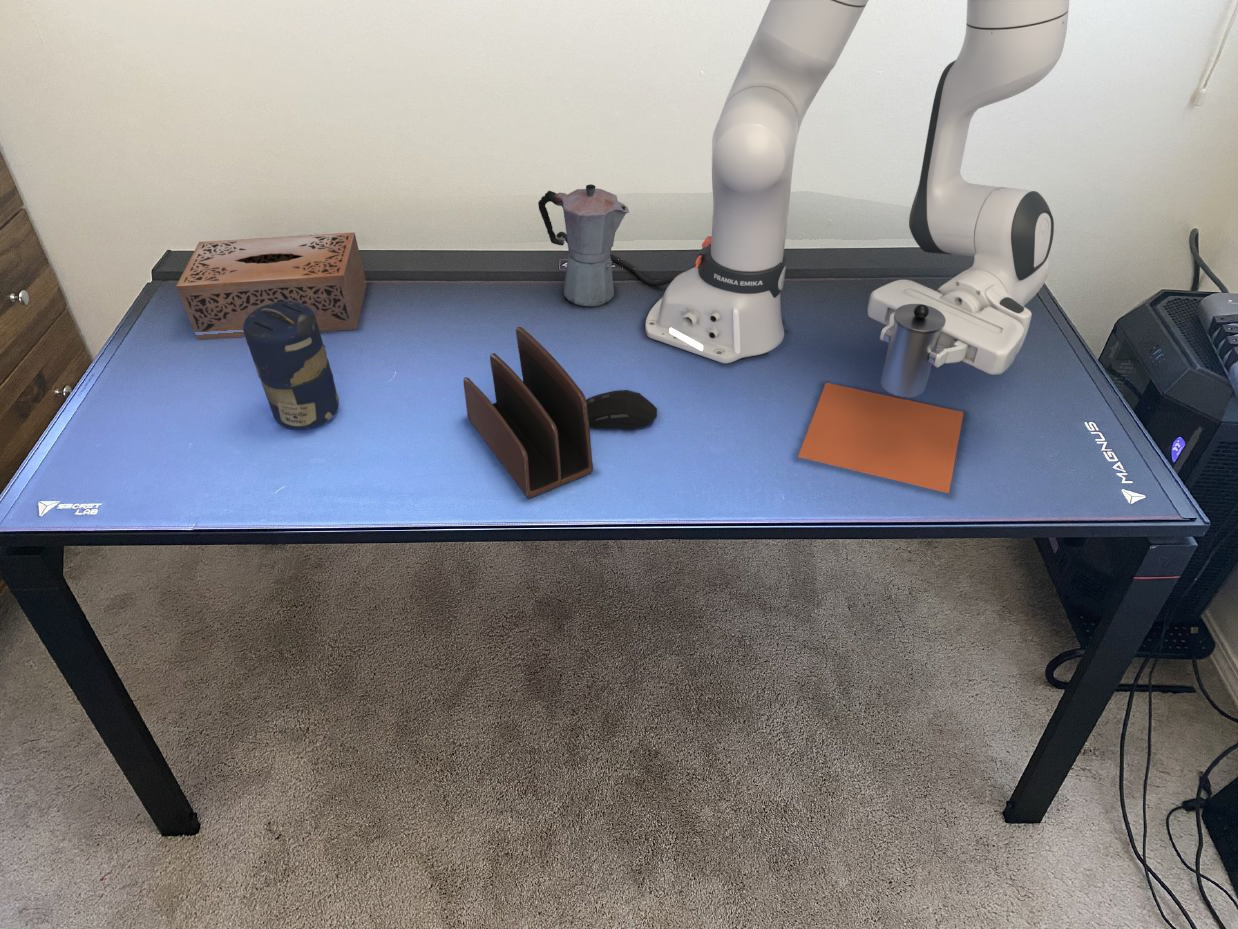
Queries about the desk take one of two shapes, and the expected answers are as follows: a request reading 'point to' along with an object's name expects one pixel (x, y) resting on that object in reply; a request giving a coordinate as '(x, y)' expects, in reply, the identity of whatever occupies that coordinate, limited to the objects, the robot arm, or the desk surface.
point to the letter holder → (534, 419)
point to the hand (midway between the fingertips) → (909, 348)
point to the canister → (292, 364)
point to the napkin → (884, 436)
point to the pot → (911, 349)
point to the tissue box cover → (273, 281)
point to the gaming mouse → (620, 410)
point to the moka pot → (587, 241)
